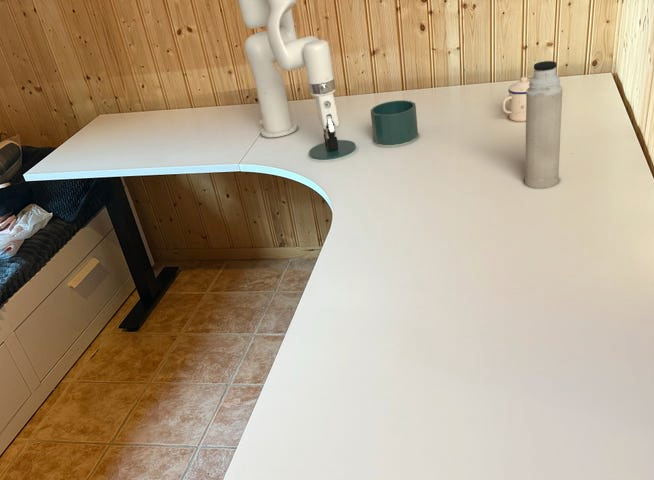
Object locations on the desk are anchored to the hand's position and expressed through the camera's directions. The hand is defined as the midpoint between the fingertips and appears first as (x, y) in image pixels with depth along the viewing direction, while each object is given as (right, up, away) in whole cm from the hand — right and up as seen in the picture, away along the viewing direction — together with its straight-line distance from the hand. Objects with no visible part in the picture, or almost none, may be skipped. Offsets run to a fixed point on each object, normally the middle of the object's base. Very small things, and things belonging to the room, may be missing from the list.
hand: (332, 147), depth 205 cm
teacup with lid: (+58, +9, 0) cm, 58 cm away
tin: (+20, +3, +2) cm, 20 cm away
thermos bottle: (+53, -21, -39) cm, 69 cm away
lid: (0, -1, 0) cm, 1 cm away
